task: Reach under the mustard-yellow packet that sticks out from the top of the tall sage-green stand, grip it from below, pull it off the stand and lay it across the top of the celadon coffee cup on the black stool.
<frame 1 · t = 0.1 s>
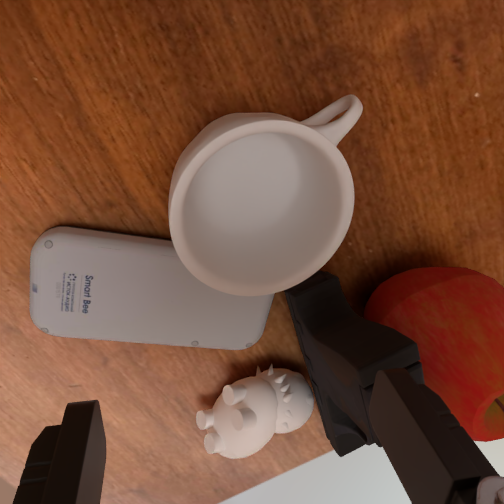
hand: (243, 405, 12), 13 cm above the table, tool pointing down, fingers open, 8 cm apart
handgun: (414, 473, 20), point 10 cm above the table
teacup: (257, 161, 22), on the table
apple: (401, 293, 28), on the table
grey smart device: (157, 304, 22), point 2 cm above the table
toy creature: (217, 419, 26), point 3 cm above the table
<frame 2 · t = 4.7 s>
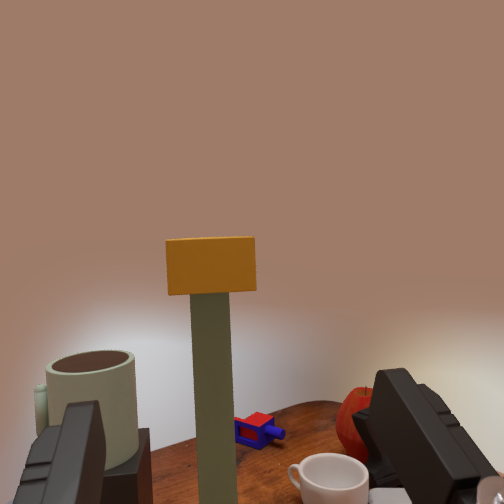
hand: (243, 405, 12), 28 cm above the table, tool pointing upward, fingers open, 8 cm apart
packet: (209, 275, 28), point 30 cm above the table, touching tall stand
toy building block: (239, 424, 69), point 2 cm above the table
handgun: (398, 399, 56), point 10 cm above the table
apple: (367, 461, 60), on the table
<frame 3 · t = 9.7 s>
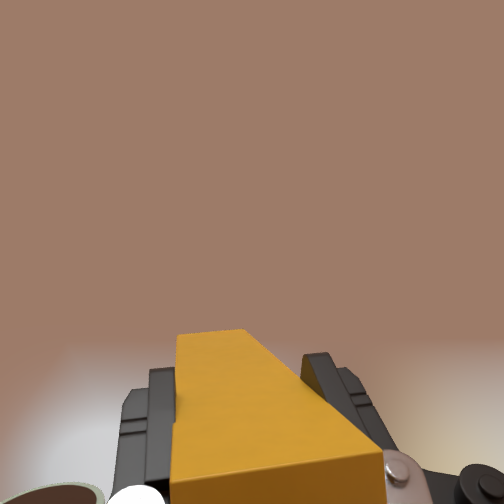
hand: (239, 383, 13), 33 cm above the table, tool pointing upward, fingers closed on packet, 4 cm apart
packet: (231, 427, 16), point 30 cm above the table, touching gripper, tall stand
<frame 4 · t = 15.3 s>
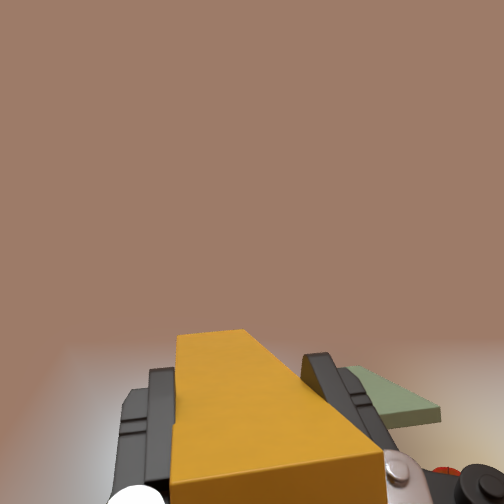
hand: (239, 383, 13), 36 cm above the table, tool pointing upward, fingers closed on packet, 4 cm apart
packet: (231, 428, 16), point 33 cm above the table, touching gripper
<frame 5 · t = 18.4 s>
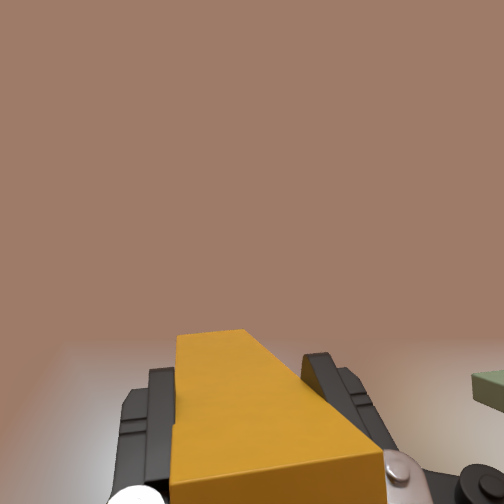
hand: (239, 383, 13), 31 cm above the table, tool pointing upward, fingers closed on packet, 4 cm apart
packet: (231, 428, 16), point 28 cm above the table, touching gripper
when the fingers open (24 cm above the table, at t = 20.8 s): packet stays where it is, resting on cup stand.
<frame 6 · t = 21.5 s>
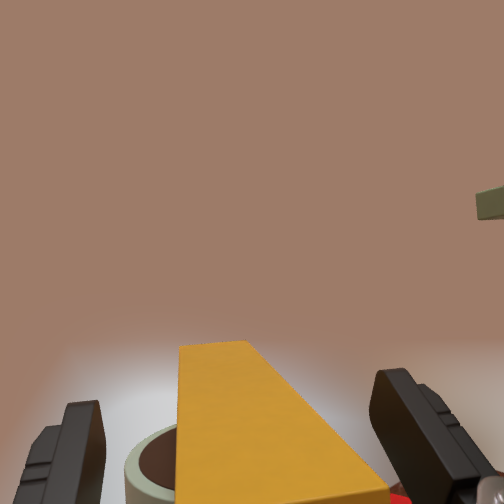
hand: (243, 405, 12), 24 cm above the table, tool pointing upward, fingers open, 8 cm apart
packet: (234, 445, 16), point 21 cm above the table, touching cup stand
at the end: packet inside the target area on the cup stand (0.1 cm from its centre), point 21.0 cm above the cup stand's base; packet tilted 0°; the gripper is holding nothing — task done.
